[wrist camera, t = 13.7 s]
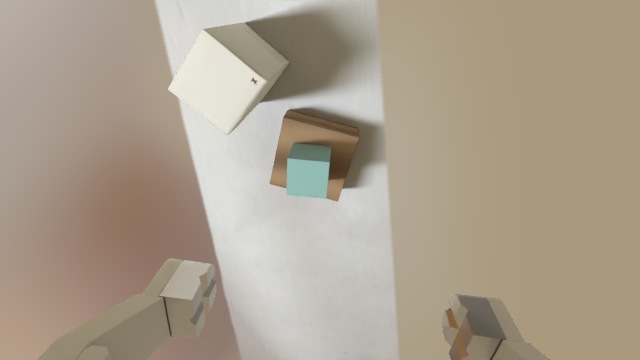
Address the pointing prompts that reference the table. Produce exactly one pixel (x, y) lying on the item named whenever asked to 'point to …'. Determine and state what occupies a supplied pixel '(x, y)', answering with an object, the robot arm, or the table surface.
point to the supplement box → (227, 74)
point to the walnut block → (316, 133)
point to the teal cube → (308, 170)
